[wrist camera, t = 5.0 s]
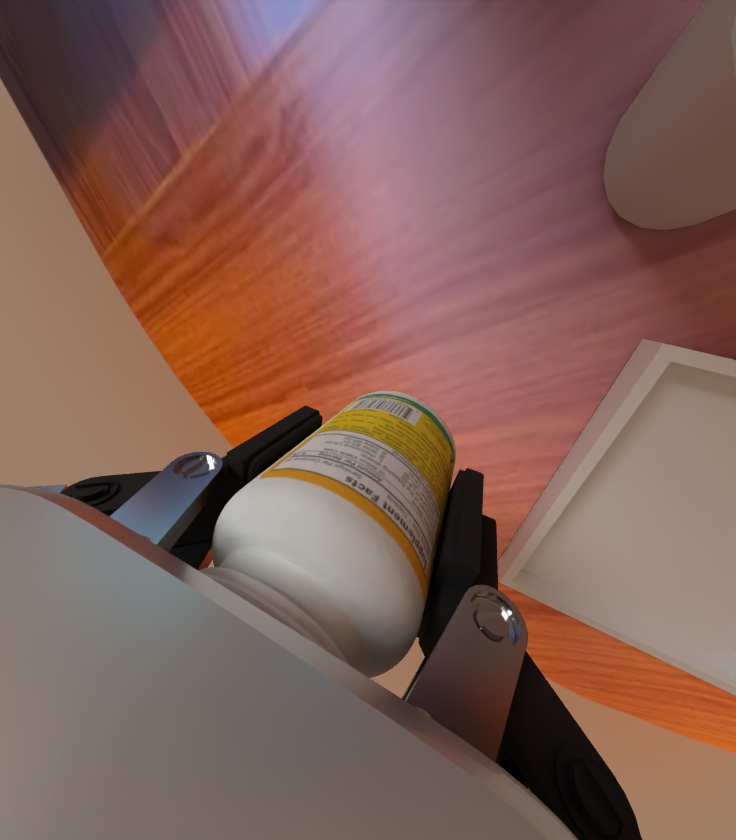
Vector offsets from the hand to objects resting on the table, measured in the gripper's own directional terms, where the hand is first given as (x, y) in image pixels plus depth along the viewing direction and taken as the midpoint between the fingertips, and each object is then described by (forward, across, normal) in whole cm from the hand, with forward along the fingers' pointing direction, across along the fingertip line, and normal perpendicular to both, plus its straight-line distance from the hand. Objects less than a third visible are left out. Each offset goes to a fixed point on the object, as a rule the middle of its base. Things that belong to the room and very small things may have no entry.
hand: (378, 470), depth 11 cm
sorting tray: (+15, -20, +5) cm, 26 cm away
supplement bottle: (+2, 0, 0) cm, 2 cm away
